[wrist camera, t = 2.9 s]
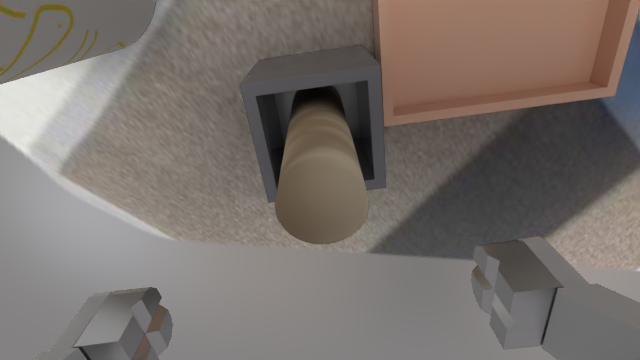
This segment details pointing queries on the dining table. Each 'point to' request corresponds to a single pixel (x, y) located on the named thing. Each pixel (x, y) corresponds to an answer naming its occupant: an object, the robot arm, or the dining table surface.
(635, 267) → the dining table surface
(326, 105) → the dowel
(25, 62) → the grey patterned cylinder
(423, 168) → the dining table surface
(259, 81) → the holder
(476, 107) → the tray
